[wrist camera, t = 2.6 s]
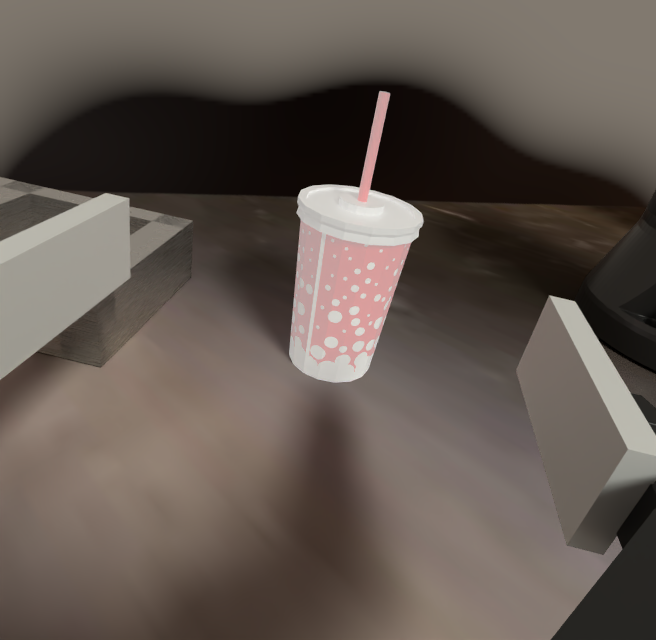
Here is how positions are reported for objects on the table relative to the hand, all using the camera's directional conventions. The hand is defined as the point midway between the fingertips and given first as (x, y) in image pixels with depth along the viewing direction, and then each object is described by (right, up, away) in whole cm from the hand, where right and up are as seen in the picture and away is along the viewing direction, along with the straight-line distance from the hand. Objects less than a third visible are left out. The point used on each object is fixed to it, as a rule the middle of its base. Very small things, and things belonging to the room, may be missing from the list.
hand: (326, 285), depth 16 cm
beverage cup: (0, -3, +13) cm, 14 cm away
